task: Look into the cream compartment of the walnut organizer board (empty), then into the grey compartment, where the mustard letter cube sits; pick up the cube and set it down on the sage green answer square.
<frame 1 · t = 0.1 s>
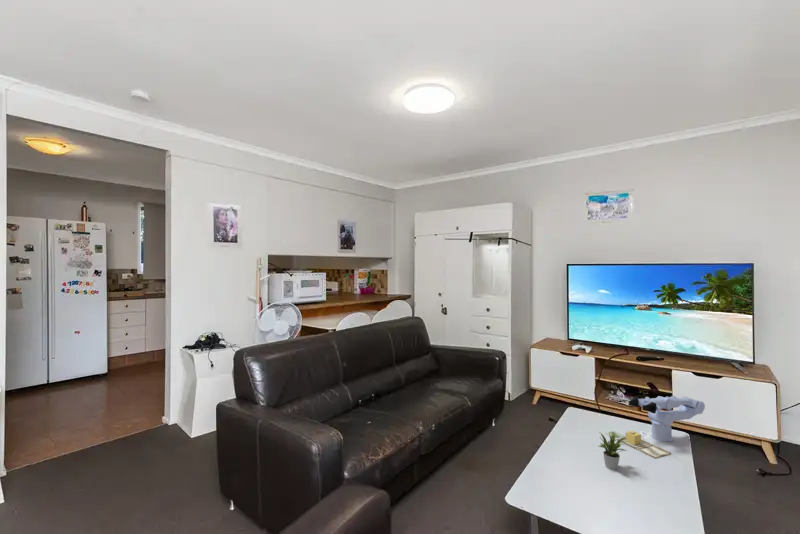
hand: (635, 405, 207), 22 cm above the table, tool horizontal, fingers open, 7 cm apart
letter cube: (633, 442, 210), point 1 cm above the table, touching organizer board
organizer board: (635, 444, 209), on the table
house plant: (613, 468, 185), on the table
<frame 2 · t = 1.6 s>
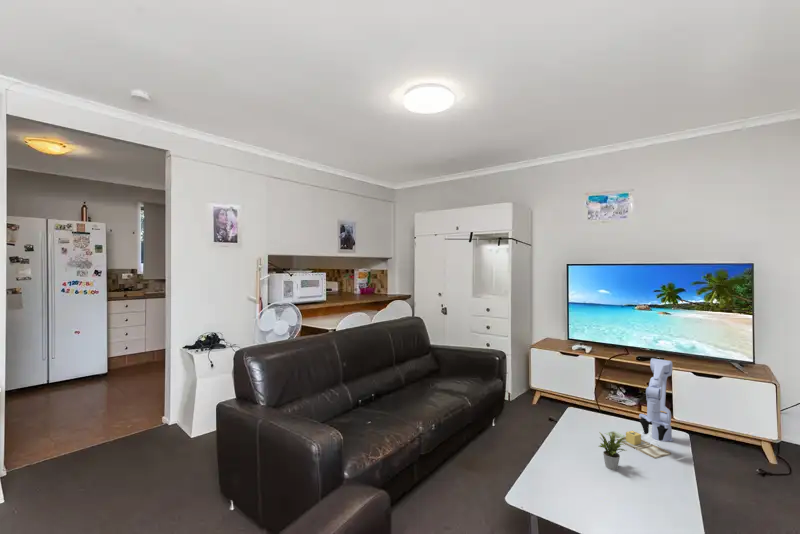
hand: (653, 436, 200), 8 cm above the table, tool pointing down, fingers open, 7 cm apart
nothing on the table moved.
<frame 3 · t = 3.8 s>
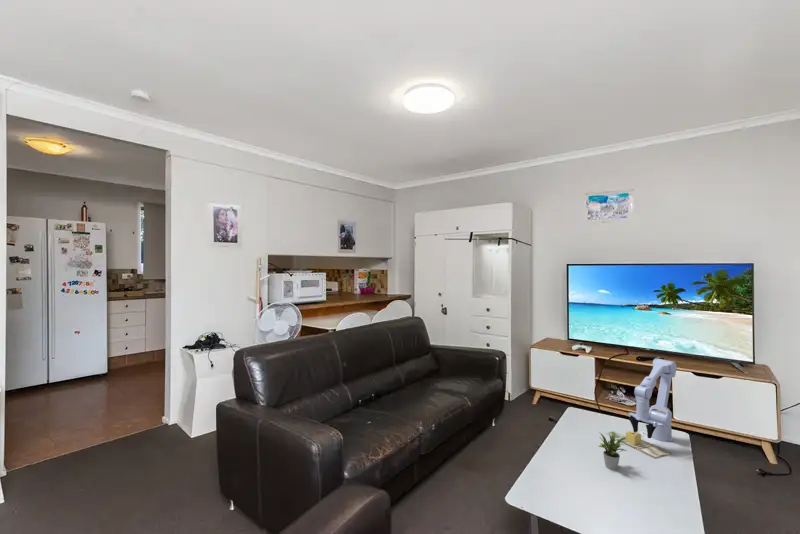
hand: (642, 434, 205), 7 cm above the table, tool pointing down, fingers open, 7 cm apart
nothing on the table moved.
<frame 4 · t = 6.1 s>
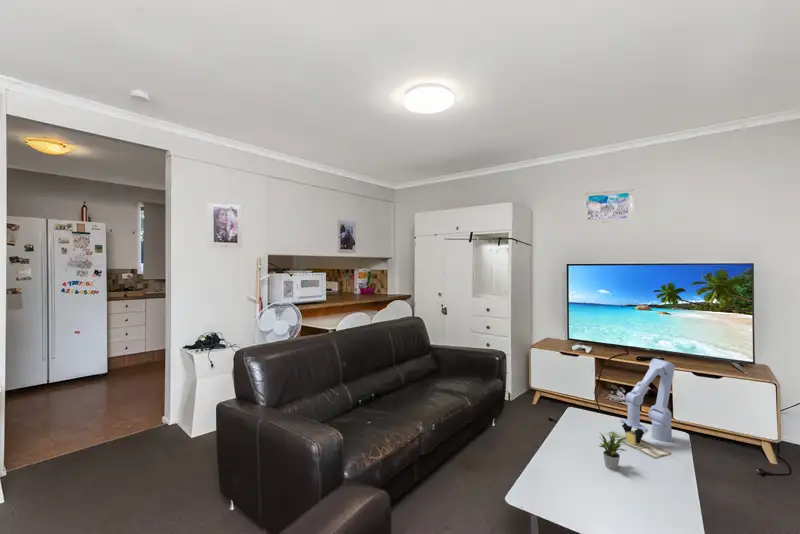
hand: (633, 440, 210), 2 cm above the table, tool pointing down, fingers closed on letter cube, 5 cm apart
letter cube: (633, 442, 210), point 1 cm above the table, touching gripper, organizer board
everything else where it was.
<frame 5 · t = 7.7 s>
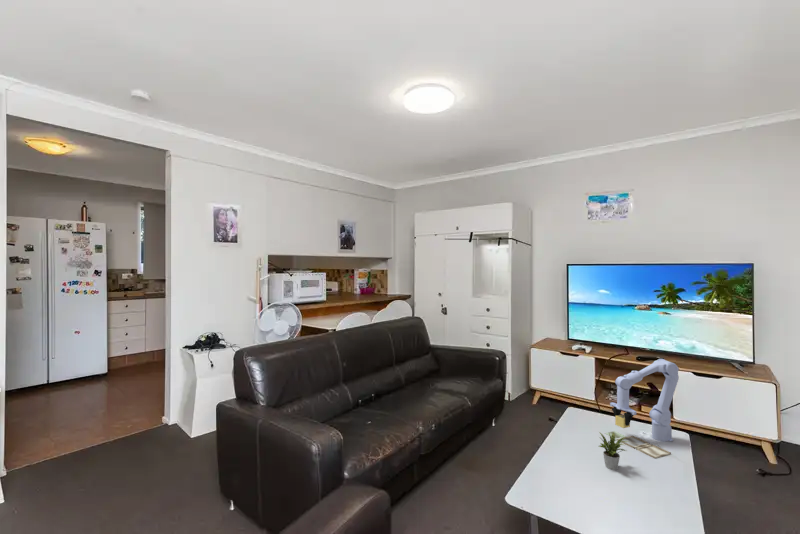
hand: (622, 423, 215), 9 cm above the table, tool pointing down, fingers closed on letter cube, 5 cm apart
letter cube: (622, 425, 215), point 8 cm above the table, touching gripper
everything else where it was.
when the fingers open (3 cm above the table, at t = 9.6 s): letter cube stays where it is, resting on organizer board.
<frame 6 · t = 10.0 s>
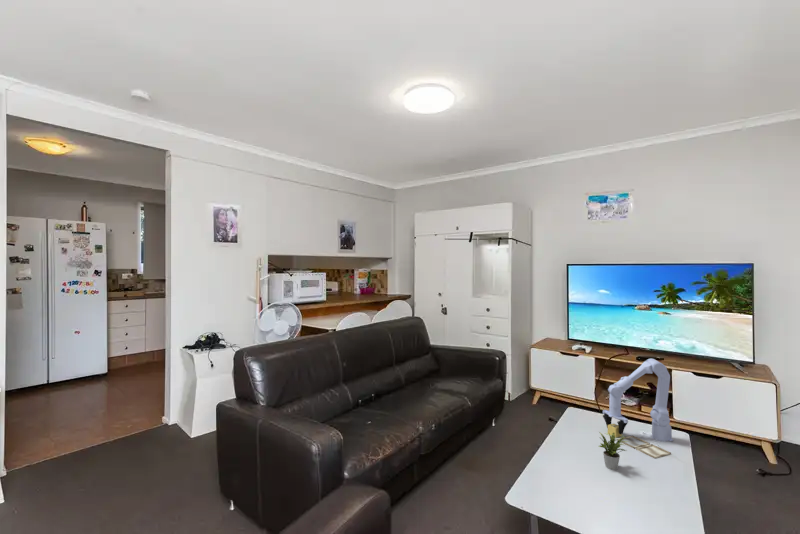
hand: (614, 430, 219), 3 cm above the table, tool pointing down, fingers open, 7 cm apart
letter cube: (614, 434, 219), point 1 cm above the table, touching organizer board
everything else where it was.
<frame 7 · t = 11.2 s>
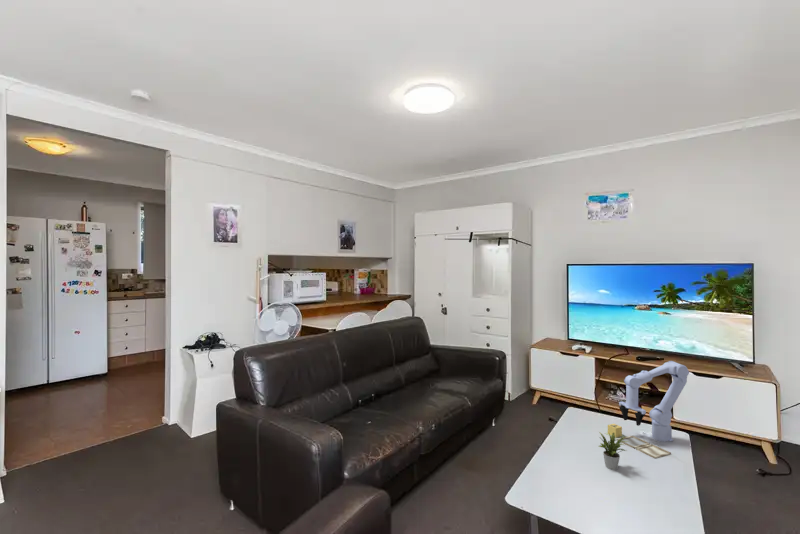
hand: (631, 422, 215), 9 cm above the table, tool pointing down, fingers open, 7 cm apart
nothing on the table moved.
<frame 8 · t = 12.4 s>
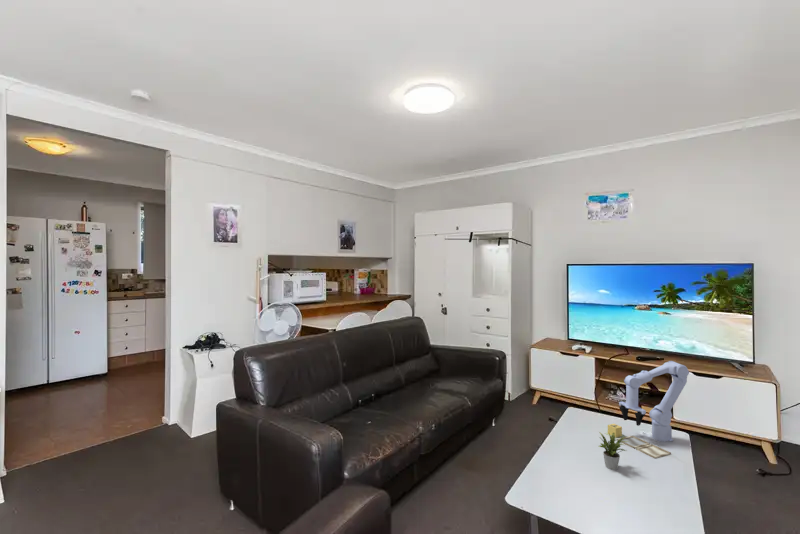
hand: (631, 422, 215), 9 cm above the table, tool pointing down, fingers open, 7 cm apart
nothing on the table moved.
at the end: letter cube inside the target area (0.1 cm from its centre), point 0.7 cm above the table; letter cube tilted 0°; the gripper is holding nothing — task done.
